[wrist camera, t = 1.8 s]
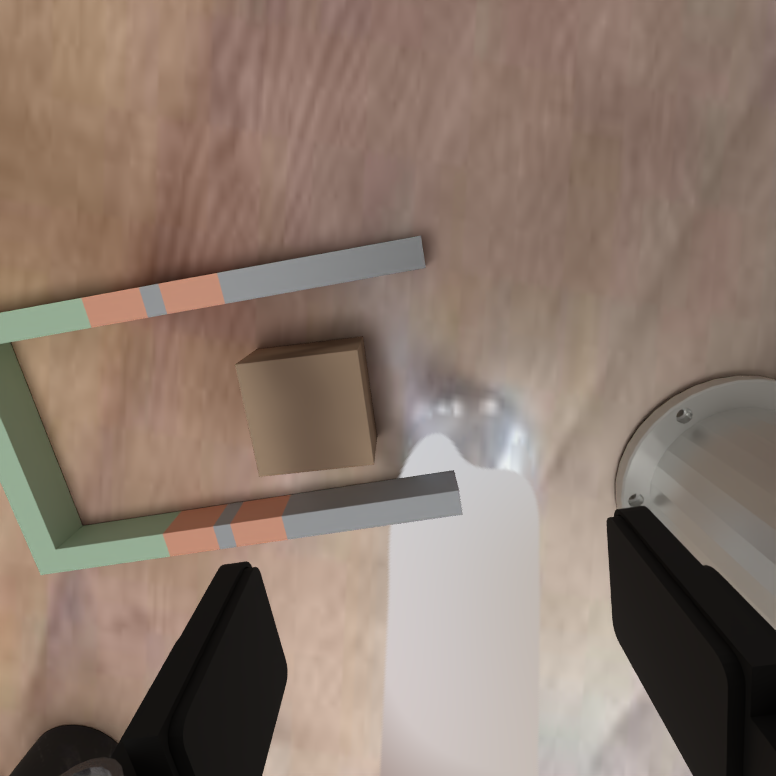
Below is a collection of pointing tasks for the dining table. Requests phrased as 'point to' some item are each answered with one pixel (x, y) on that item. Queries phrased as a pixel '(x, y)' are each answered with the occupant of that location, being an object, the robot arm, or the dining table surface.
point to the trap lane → (210, 524)
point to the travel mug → (64, 751)
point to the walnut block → (309, 406)
